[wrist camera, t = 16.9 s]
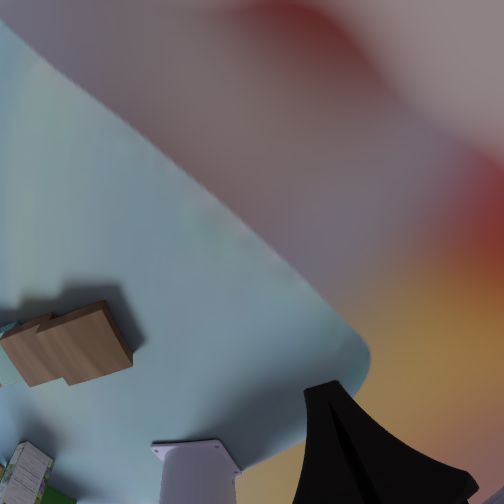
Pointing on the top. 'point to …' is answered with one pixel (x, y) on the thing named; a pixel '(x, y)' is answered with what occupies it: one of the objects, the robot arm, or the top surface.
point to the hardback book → (52, 496)
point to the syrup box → (25, 476)
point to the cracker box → (1, 471)
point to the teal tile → (8, 361)
